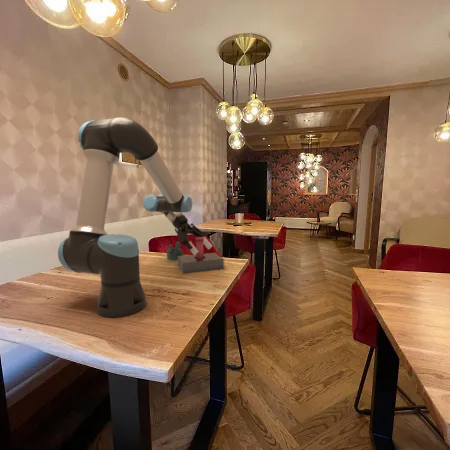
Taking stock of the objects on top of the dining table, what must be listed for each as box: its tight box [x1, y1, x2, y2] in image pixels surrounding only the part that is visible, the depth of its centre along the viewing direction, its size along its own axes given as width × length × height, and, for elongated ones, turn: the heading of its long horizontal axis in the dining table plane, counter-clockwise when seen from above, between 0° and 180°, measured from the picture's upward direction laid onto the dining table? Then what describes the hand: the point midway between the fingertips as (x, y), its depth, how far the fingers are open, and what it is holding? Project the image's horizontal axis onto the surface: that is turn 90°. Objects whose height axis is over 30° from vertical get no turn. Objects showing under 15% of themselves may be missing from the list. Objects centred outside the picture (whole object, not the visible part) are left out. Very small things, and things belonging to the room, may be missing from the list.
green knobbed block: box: [166, 241, 184, 261], centre depth 147 cm, size 9×9×9 cm
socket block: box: [177, 252, 225, 274], centre depth 129 cm, size 20×14×5 cm
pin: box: [194, 236, 205, 259], centre depth 128 cm, size 4×4×15 cm
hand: (203, 250), depth 127 cm, fingers open, 13 cm apart
